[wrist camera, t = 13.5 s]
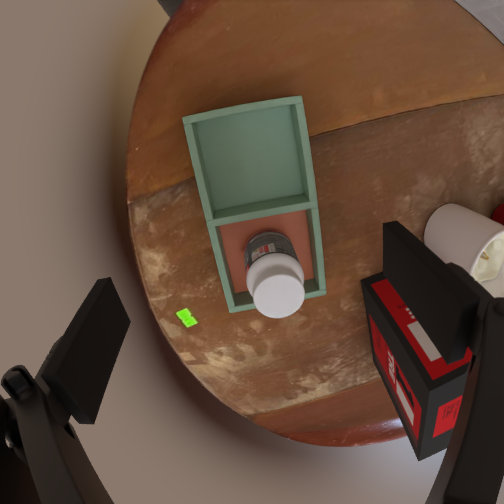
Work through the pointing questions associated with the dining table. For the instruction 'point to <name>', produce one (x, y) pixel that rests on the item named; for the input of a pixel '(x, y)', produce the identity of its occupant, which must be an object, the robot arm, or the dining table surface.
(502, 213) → the plastic cup
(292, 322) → the dining table surface
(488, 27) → the skincare box
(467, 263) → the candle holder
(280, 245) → the pill bottle
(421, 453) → the cleaning product box
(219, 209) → the divided tray
